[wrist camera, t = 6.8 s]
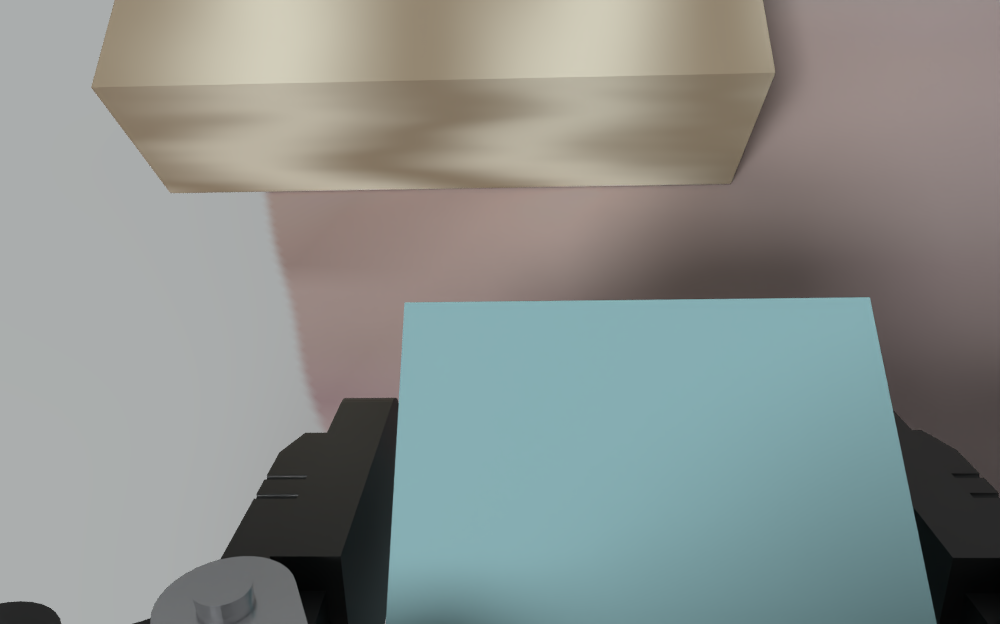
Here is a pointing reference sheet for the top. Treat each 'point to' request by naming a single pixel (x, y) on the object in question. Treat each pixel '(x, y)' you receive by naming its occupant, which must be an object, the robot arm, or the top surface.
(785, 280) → the top surface
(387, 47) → the birch plinth
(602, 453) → the teal block
